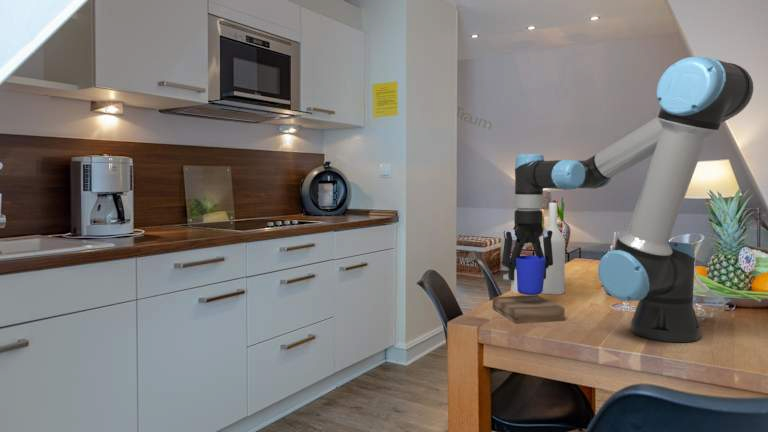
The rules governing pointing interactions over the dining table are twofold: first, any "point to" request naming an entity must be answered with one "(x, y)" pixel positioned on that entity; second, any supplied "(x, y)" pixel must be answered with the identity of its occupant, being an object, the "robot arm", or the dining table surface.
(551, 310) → the board
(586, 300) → the dining table surface
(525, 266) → the mug
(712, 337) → the dining table surface
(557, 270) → the bottle
